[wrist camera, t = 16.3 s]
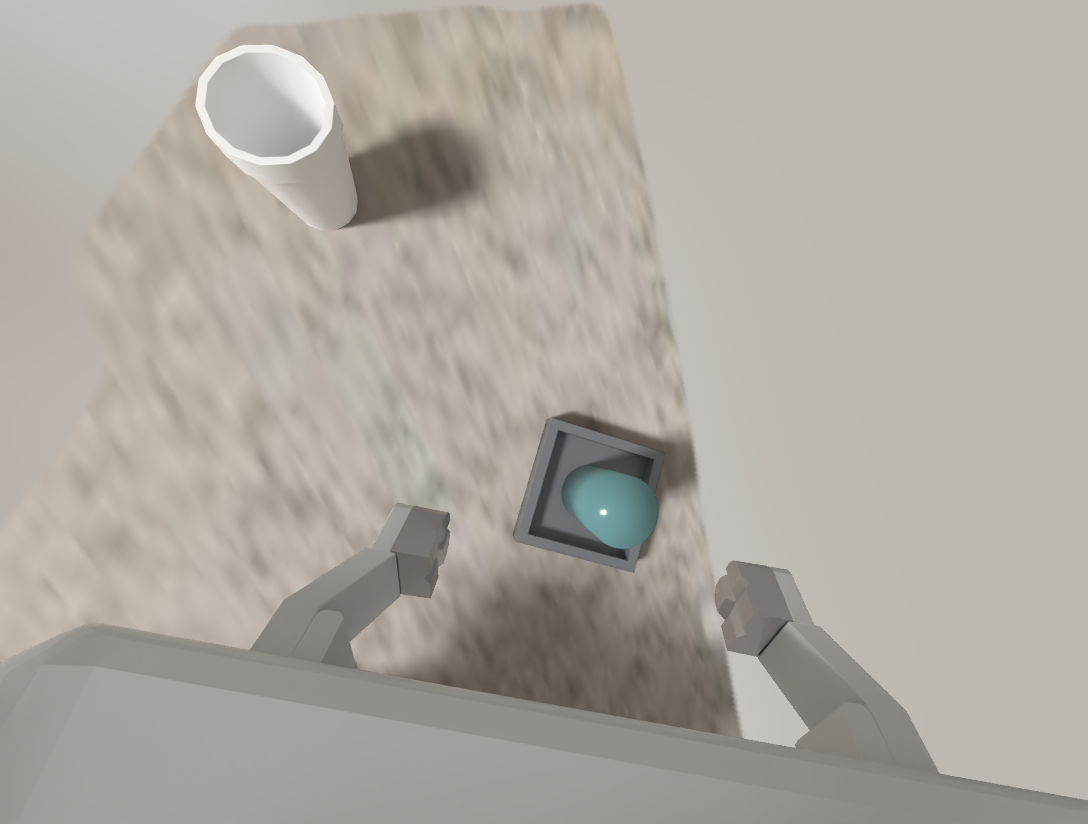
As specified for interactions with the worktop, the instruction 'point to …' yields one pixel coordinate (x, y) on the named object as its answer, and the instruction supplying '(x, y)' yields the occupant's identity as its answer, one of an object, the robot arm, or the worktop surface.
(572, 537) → the tray
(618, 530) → the teal cylinder
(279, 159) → the foam cup
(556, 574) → the worktop surface
